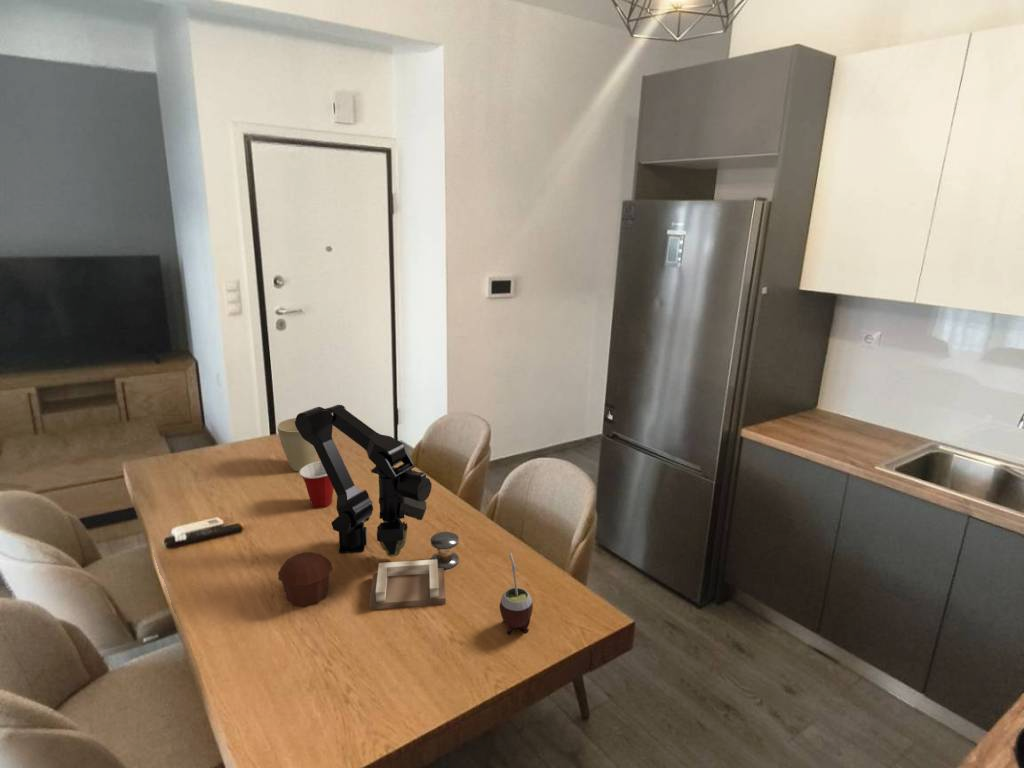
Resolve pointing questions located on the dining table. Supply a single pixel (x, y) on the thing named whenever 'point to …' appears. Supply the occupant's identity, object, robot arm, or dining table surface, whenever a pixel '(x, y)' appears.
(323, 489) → the plastic cup
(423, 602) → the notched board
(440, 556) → the bobbin
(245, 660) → the dining table surface
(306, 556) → the muffin
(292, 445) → the plant pot
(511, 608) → the mate gourd
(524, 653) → the dining table surface
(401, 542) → the cup
